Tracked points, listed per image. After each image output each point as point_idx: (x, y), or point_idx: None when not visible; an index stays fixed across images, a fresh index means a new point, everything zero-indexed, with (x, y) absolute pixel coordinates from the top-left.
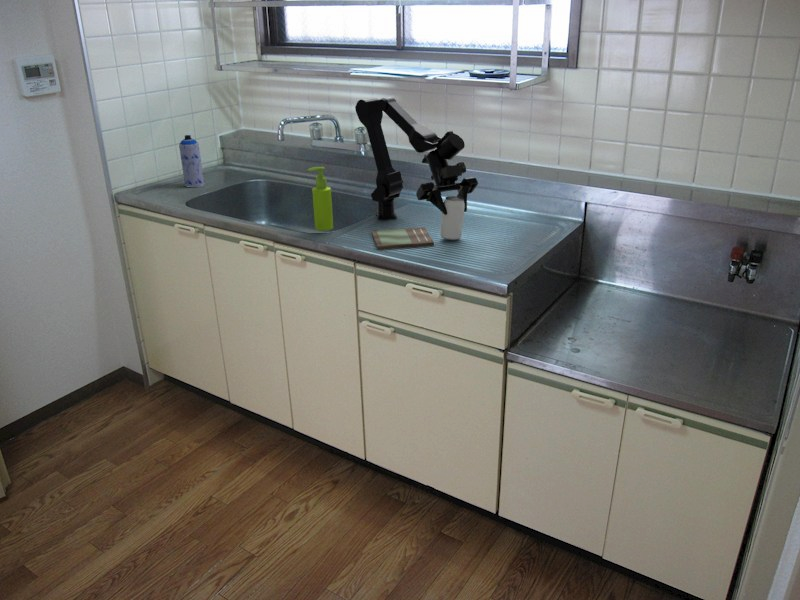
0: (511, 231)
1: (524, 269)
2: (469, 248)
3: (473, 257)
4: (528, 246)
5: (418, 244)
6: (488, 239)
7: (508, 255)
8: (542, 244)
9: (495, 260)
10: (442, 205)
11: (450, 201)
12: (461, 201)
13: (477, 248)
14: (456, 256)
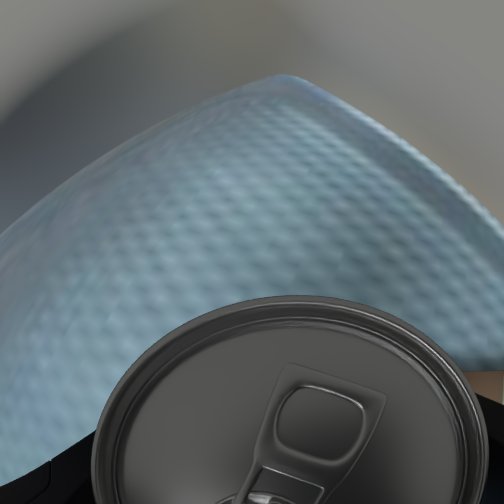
0: (8, 388)
1: (199, 103)
2: (262, 281)
3: (291, 190)
4: (65, 226)
5: (481, 371)
6: (118, 357)
7: (167, 176)
8: (31, 229)
9: (231, 153)
10: (489, 405)
11: (430, 359)
12: (206, 325)
13: (227, 269)
14: (352, 217)
